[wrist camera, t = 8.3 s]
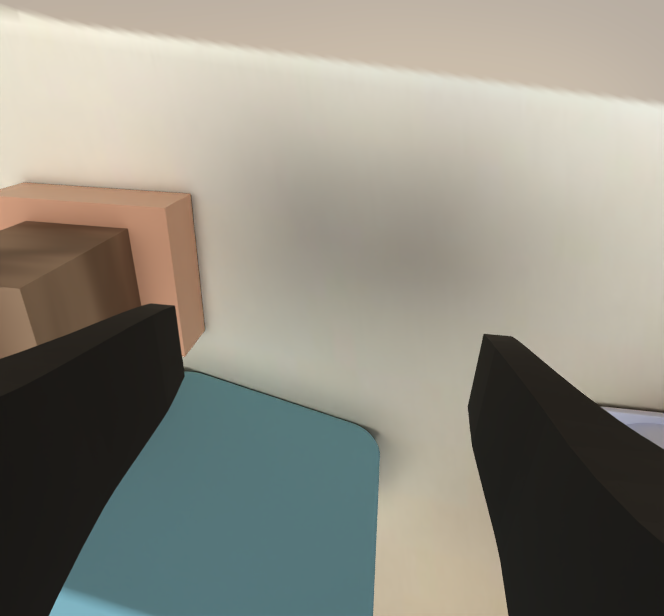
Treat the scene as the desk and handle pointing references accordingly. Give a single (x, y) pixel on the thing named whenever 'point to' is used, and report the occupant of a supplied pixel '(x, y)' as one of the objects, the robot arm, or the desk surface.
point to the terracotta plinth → (144, 232)
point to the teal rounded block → (235, 515)
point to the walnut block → (61, 280)
